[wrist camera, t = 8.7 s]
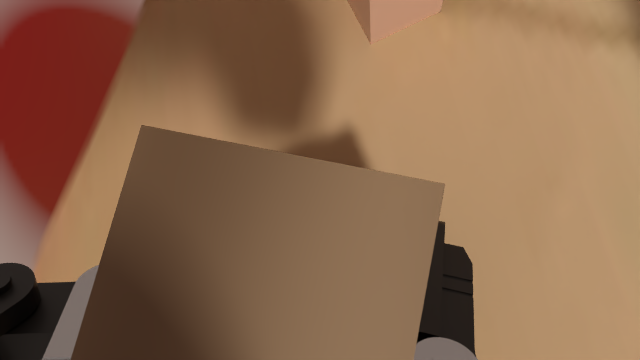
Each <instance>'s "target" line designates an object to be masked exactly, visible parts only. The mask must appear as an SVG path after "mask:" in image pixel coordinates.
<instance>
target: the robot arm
mask: <svg viewBox="0 0 640 360" xmlns="http://www.w3.org/2000/svg"><path fill="white" fill-rule="evenodd" d="M444 236H445V222H442V221H438V227H437V232H436V238H435V243H434V249H433V254H432V260H431V266H430V271H429V277H428V282H427V288H426V293H425V299H424V304H423V310H422V315H421V321H420V326H419V332H418V338H417V343H416V349H415V354H414V360H478V359H477V358H476V355H475V347H474V308H473V284H472V282H473V269H472V262H471V260H470V259H469V257H468V255H467V253H466V252H465V250H464V248H463V247H459V246H454V245H450V244H445V243H444ZM98 267H99V265H98V266H95V267H93V268H91V269H89V270H88V271H86V272H85V273H83V274H82V275H81V276H80V277H79V278H78V280H77V281H76V282H57V283H37V282H36V278H35V275H34V273H33V271H32V270H31V269H30V268H29V267H27V266H25V265H22V264H18V263H3V264H0V360H71V356H72V353H73V350H74V346H75V343H76V340H77V337H78V333H79V330H80V327H81V323H82V320H83V317H84V313H85V310H86V307H87V303H88V300H89V297H90V294H91V290H92V287H93V284H94V280H95V277H96V274H97V270H98Z"/></svg>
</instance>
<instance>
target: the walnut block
mask: <svg viewBox="0 0 640 360" xmlns="http://www.w3.org/2000/svg"><path fill="white" fill-rule="evenodd" d="M444 188H445V184H443V183H438V182H433V181H428V180H423V179H417V178H412V177H407V176H402V175H397V174H392V173H386V172H381V171H376V170H371V169H366V168H361V167H356V166H350V165H345V164H340V163H335V162H330V161H325V160H319V159H314V158H309V157H304V156H299V155H294V154H288V153H283V152H278V151H273V150H268V149H263V148H258V147H252V146H247V145H242V144H237V143H232V142H227V141H221V140H216V139H211V138H206V137H201V136H196V135H191V134H185V133H180V132H175V131H170V130H165V129H160V128H154V127H149V126H144V125H141V128H140V132H139V135H138V138H137V142H136V145H135V148H134V152H133V155H132V158H131V161H130V165H129V168H128V171H127V175H126V178H125V181H124V185H123V188H122V191H121V194H120V198H119V201H118V204H117V208H116V211H115V214H114V218H113V221H112V224H111V228H110V231H109V234H108V237H107V241H106V244H105V247H104V251H103V254H102V257H101V261H100V264H99V267H98V270H97V274H96V277H95V280H94V284H93V287H92V290H91V294H90V297H89V300H88V303H87V307H86V310H85V313H84V317H83V320H82V323H81V327H80V330H79V333H78V337H77V340H76V343H75V346H74V350H73V353H72V356H71V360H414V354H415V349H416V343H417V338H418V332H419V326H420V321H421V315H422V310H423V304H424V299H425V293H426V288H427V282H428V277H429V271H430V266H431V260H432V254H433V249H434V243H435V238H436V232H437V227H438V221H439V216H440V210H441V205H442V199H443V193H444Z"/></svg>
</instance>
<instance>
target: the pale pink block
mask: <svg viewBox="0 0 640 360" xmlns="http://www.w3.org/2000/svg"><path fill="white" fill-rule="evenodd" d="M348 2H349V4H350V6H351V8H352V10H353V12H354V14H355V16H356V17H357V19H358V21H359V23H360V25H361V27H362V29H363V31H364V33H365V34H366V36H367V38H368V40H369V42H370V44H373V43H375V42H377V41H379V40H381V39H383V38H385V37H387V36H390V35H392V34H394V33H396V32H398V31H400V30H402V29H404V28H407V27H409V26H411V25H413V24H415V23H417V22H419V21H421V20H424V19H426V18H428V17H430V16H432V15H434V14H436V13H438V12H440V11H441V7H442V3H443V0H348Z"/></svg>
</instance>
